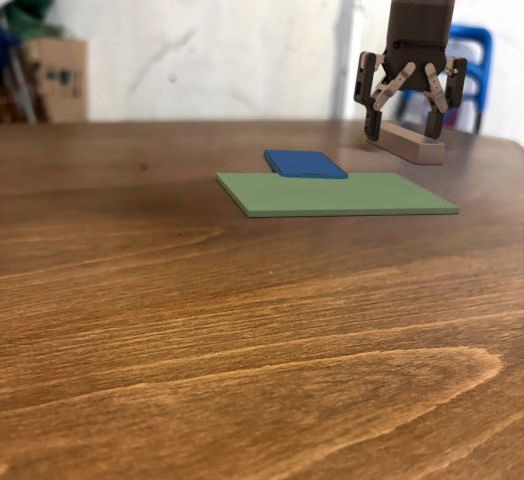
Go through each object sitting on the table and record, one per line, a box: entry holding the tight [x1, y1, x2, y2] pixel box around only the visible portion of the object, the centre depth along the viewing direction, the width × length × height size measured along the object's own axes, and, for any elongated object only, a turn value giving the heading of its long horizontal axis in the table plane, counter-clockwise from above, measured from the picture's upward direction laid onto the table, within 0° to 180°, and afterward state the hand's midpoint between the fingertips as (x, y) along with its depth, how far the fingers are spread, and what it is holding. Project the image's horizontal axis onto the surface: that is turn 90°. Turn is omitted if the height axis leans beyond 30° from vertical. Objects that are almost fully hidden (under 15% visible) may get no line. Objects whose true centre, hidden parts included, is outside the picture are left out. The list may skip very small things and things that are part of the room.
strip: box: [365, 122, 446, 166], centre depth 88 cm, size 16×4×2 cm, turn 15°
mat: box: [215, 172, 460, 218], centre depth 65 cm, size 20×14×1 cm
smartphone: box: [263, 149, 348, 179], centre depth 75 cm, size 7×1×15 cm
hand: (401, 141), depth 87 cm, fingers open, 8 cm apart
